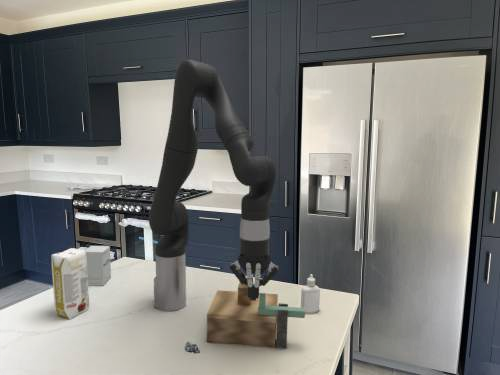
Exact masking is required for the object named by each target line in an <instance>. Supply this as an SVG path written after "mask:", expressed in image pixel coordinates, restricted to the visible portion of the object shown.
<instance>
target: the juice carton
mask: <svg viewBox="0 0 500 375" xmlns="http://www.w3.org/2000/svg"><path fill="white" fill-rule="evenodd" d="M51 276H52V286H53V287H52V288H53V290H52V291H53V298H54V299H53V300H54V310H55V311H54V312H55V314H56V316H59V317H61V318H62V317H63V318H66V319H69V320H71V319H73V318H75V317H77V316H79V315H80V314H83V313H84V312H86V311H88V310H89V309H90V294H89V291H90V290H89V286H88V274H87V258H86V251H85V250H83V249H79V248H73V247H70V248H68V249H65V250H64V251H62V252H56V253H53V254H51Z"/></svg>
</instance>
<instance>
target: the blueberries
mask: <svg viewBox="0 0 500 375" xmlns="http://www.w3.org/2000/svg"><path fill="white" fill-rule="evenodd" d="M184 351H185V352H187V353H192V354H199V353H201V351H200V349H199V347H198V344H196V343H191V342H190V341H188V342H186V343H185V346H184Z"/></svg>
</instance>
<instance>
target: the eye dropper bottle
mask: <svg viewBox="0 0 500 375" xmlns="http://www.w3.org/2000/svg"><path fill="white" fill-rule="evenodd" d="M313 276H314V275H313V274H309V277H308V278H307V279H306V285H304V286H302V288H301V293H300V296H301V297H300V308H305V314H308V315H309V314H315V313H318V312H319V310H320V298H321V297H320V295H321V294H320V292H321V290H320V289H321V288H320V287H319V286H318V285H316V278H314V277H313Z"/></svg>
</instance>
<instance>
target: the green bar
mask: <svg viewBox="0 0 500 375" xmlns="http://www.w3.org/2000/svg"><path fill="white" fill-rule="evenodd" d="M259 293H260V295H259V307H258V315H267V316H278V309H281V310H288V318H296V319H297V318H298V319H305V314H306V313H305V308H301V307H297V306H296V307H295V306H288V307H284V306H278V305H277V306H269V305H265V299H266V292H259Z"/></svg>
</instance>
